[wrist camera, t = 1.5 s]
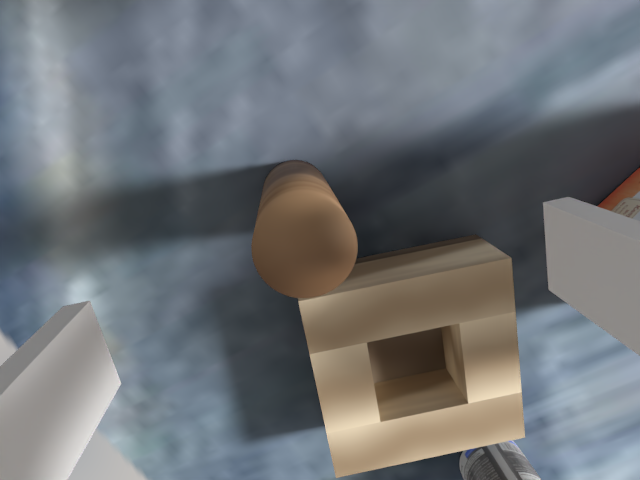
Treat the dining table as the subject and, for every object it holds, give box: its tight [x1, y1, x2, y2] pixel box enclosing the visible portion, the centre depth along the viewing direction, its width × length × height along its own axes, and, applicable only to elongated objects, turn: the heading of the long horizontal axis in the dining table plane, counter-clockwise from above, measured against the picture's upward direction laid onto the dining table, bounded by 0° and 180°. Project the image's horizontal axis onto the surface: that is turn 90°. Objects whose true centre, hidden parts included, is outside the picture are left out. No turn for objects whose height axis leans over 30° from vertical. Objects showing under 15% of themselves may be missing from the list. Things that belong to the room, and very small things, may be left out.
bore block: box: [298, 234, 525, 478], centre depth 30 cm, size 12×12×5 cm
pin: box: [252, 160, 358, 298], centre depth 24 cm, size 4×4×12 cm
